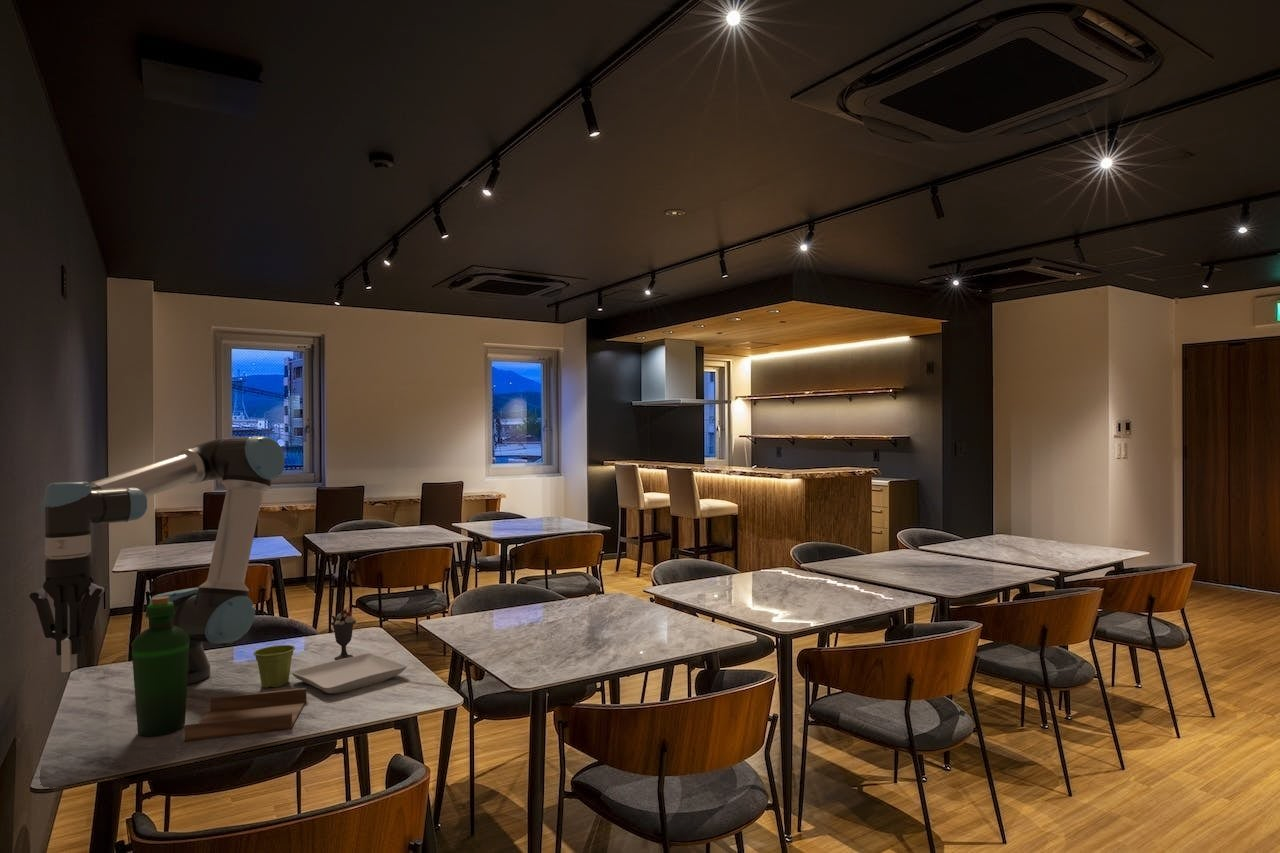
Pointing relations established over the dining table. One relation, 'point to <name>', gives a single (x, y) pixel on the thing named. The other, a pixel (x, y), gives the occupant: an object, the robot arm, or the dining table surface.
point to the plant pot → (274, 664)
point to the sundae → (343, 631)
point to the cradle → (248, 714)
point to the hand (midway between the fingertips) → (68, 670)
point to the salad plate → (349, 673)
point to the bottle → (160, 671)
